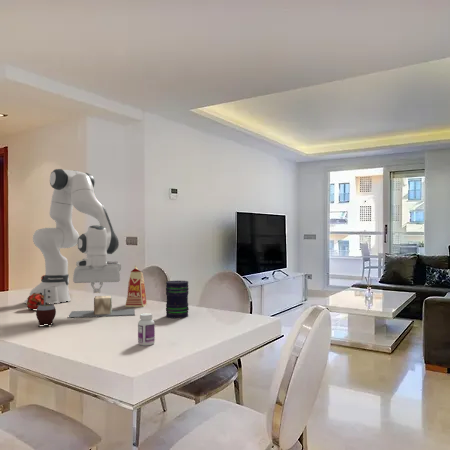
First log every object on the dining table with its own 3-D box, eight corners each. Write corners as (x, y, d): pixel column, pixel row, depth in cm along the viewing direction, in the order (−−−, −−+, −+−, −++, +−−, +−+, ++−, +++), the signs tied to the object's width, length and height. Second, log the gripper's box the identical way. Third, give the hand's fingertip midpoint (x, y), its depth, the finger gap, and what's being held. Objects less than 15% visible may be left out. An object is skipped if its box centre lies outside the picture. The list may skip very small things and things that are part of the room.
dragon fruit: (35, 310, 205) (40, 318, 195) (20, 302, 201) (24, 309, 191) (47, 296, 207) (52, 303, 197) (32, 287, 203) (36, 293, 193)
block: (93, 298, 185) (111, 298, 187) (95, 296, 192) (111, 295, 194) (93, 314, 185) (110, 313, 187) (95, 311, 192) (111, 311, 194)
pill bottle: (155, 341, 140) (155, 312, 141) (153, 345, 135) (153, 315, 135) (139, 341, 140) (139, 312, 140) (136, 346, 135) (136, 315, 135)
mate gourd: (48, 323, 170) (48, 285, 170) (60, 325, 166) (61, 286, 166) (31, 326, 163) (31, 287, 164) (44, 328, 159) (44, 289, 160)
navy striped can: (184, 318, 178) (184, 283, 178) (162, 317, 180) (162, 282, 180) (191, 314, 188) (191, 280, 188) (170, 313, 190) (170, 280, 190)
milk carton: (143, 307, 207) (143, 266, 207) (124, 307, 207) (124, 266, 207) (147, 304, 216) (147, 264, 216) (129, 303, 216) (129, 264, 216)
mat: (67, 318, 179) (67, 317, 179) (71, 312, 193) (71, 311, 193) (134, 315, 186) (134, 314, 186) (134, 309, 199) (134, 308, 199)
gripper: (121, 260, 195) (121, 290, 194) (74, 261, 190) (74, 292, 190) (120, 261, 189) (120, 292, 188) (72, 262, 184) (72, 294, 184)
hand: (97, 292), depth 189 cm, fingers closed
